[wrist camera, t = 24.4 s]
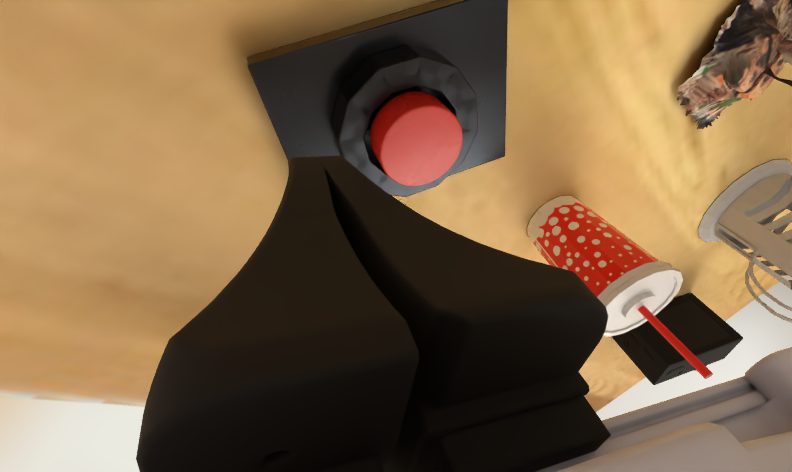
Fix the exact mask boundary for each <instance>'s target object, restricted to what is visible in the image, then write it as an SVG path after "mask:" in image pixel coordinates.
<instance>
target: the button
mask: <svg viewBox="0 0 792 472" xmlns="http://www.w3.org/2000/svg"><path fill="white" fill-rule="evenodd" d="M462 141H463V134H462V128H461V125H460V123H459V120H458V119H457V118H456V116H455V115H454V114H453V113H452V112H451V111H450V110H449V109H448V108H447V107H446V106H445V105H444V104H443V103H442V102H441V101H440V100H439V99H437V98H436V97H435V96H433V95H431V94H429V93H426V92H421V91H412V92H406V93H403V94H400V95H398V96H396V97H394V98H392V99H391V100H390V101H388V102H387V103H386V104H385V105H384V106H383V107H382V108H381V109H380V110H379V112H378V113H377V115H376V117H375V119H374V121H373V124H372V127H371V132H370V142H371V147H372V150H373V152H374V154H375V156H376V157H377V159H378V161H379V163H380V164H381V166H382V168H383V170H384V171H385V173H386V174H387V175H388V176H389V177H390V178H391V179H392V180H393V181H395V182H397V183H399V184H402V185H407V186H419V185H424V184H428V183H430V182H433V181H434V180H436V179H438V178H440V177H441V176H442V175H444V174H445V173H446V172H447V171H448V170H449V169H450V168H451V167H452V165H453V164H454V163H455V161H456V159H457V158H458V156H459V153H460V151H461V147H462Z"/></svg>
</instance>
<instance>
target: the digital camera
mask: <svg viewBox="0 0 792 472" xmlns="http://www.w3.org/2000/svg"><path fill="white" fill-rule="evenodd" d="M655 317H656V318H657V319H658V320H659V321H660V322H661V323H662V324H663V325H664V326H665V327H666V328H667V329H668V330H669V331H670V332H671V333H672V334H673V335H674V336H675V337H676V338H677V339H678V340H680V341H681V342H682V343H683V344H684V345H685V346H686V347H687V348H688V349H689V350H690V351H691V352H692V353H693V354H694V355H695V356H696V357H697V358H698V359H699V360H700V361H701V362H702V363H703V364H704V365H705V366H706V365H708V364H711V363H713V362H716V361H719V360H721V359H723V358H725V357H726V356H727V355H728V354H729V353H730V352H731V350H732V349H733V348H734V347H735V346H736V345H737V344H738V343H739V342H740V341H741V340H742V339H743V337H742V336H741V335H740V334H739V333H737V332H736V331H735V330H734V329H733V328H732V327H730V326H729V325H728V324H727V323H726V322H725V321H724V320H722V319H721V318H720V317H719V316H718V315H717V314H715V313H714V312H713V311H712V310H711V309H710V308H708V307H707V306H706V305H705V304H704V303H703V302H701V301H700V300H699V299H698V298H697V297H696V296H695V295H693V294H692V293H690V294H687V295H684V296H681V297H678V298H675V299H672V300H671V301H670V303H669V304H668V305H667V306H665V307H664V308H663V309H662V310H661V311H660V312H659V313H657V314H656V315H655ZM611 337H612V338H613V339H614V340H615V341H616V342H617V344H618V345H619V346H620V347H621V348H622V349H623V351H624V352H625V353H626V354H627V355H628V356H629V358H630V359H631V360H632V361H633V362H634V363H635V365H636V366H637V367H638V368H639V369H640V370H641V371H642V373H643V374H644V375H645V376H646V377H647V378H648V380H649V381H650V382H651V383H652V384H653V385H656V384H658V383H661V382H664V381H666V380H669V379H672V378H674V377H677V376H679V375H682V374H685V373H687V372H690V371H692V370H696V369H695V368H694V367H693V366H692V365H691V364H690V363H689V362H688V361H687V360H686V359H685V358H684V357H683V356H682V355H681V354H680V353H679V352H678V351H677V350H676V349H675V348H674V347H673V346H672V345H671V344H670V343H669V342H668V341H667V340H666V339H665V338H664V336H663V335H662V334H661V333H660V332H659V331H658V330H657V329H656V328H655V327H654V326H653V325H652V324H651V323H650V322H649V321H646V322H645V323H643V324H642V325H640V326H638V327H636V328H634V329H632V330H630V331H627V332H625V333H623V334H619V335H615V336H611Z"/></svg>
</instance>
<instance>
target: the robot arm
mask: <svg viewBox="0 0 792 472" xmlns="http://www.w3.org/2000/svg"><path fill="white" fill-rule="evenodd" d="M288 166H289V176H288V181H287V185H286V188H285V192H284V195H283V198H282V201H281V203H280V206H279V208H278V210H277V212H276V215H275V217H274V219H273V221H272V223H271V225H270V227H269V229H268V231H267V232H266V234H265V236H264V237H263V239H262V241H261V242H260V244H259V245H258V247H257V248H256V250H255V251H254V253H253V254H252V255H251V257H250V258H249V260H248V261H247V262H246V264H245V265H244V266H243V268H242V269H241V270H240V271H239V272H238V274H237V275H236V276H235V277H234V278H233V279H232V280H231V281H230V283H229V284H228V285H227V286H226V287H225V288H224V289H223V290H222V291H221V292H220V293H219V295H218V296H217V297H216V298H215V299H214V300H213V301H212V302H211V303H210V304H209V305H208V306H207V307H206V308H205V309H204V310H202V311H201V312H200V313H199V314H198V315H197V316H196V317H195V318H193V319H192V320H191V321H190V322H189V323H188V324H187V325H186V326H184V327H183V328H182V329H181V330H180V331H179V332H178V333H176V334H175V335H174V336H173V337H171V338H170V339H169V341H168V344H167V346H166V348H165V351H164V353H163V355H162V358H161V360H160V363H159V365H158V368H157V371H156V373H155V376H154V379H153V382H152V385H151V388H150V392H149V395H148V398H147V401H146V405H145V410H144V414H143V420H142V426H141V432H140V439H139V445H138V451H137V457H136V460H137V463H138V466H139V470H140V472H792V347H791V348H788V349H784V350H781V351H777V352H775V353H772V354H770V355H768V356H766V357H765V358H763V359H761V360H760V361H759V362H757V363H756V364H755V365H754V366H752V367H751V368H750V369H749V370H748V371H747V372H746V373H745V376H744V377H740V378H737V379H734V380H731V381H728V382H725V383H721V384H718V385H715V386H712V387H708V388H705V389H702V390H699V391H696V392H692V393H689V394H686V395H683V396H680V397H677V398H673V399H670V400H667V401H664V402H660V403H657V404H654V405H651V406H648V407H644V408H641V409H638V410H635V411H632V412H628V413H625V414H622V415H619V416H616V417H613V418H609V419H606V420H603V421H601V420H600V418H599V417H598V415H597V414H596V413H595V411H594V410H593V408H592V407H591V405H590V404H589V403H588V401H587V400H586V398H585V397H584V396H583V395H586V394H587V393H588V392H589V386H588V384H587V383H586V381H585V380H584V379H583V377H582V376H581V375H580V373H579V372H578V371H579V370H580V368H581V367H582V366H583V364H584V363H585V361H586V360H587V359H588V357H589V356H590V354H591V353H592V352H593V350H594V349H595V347H596V346H597V345H598V343H599V342H600V340H601V338H602V336H603V334H604V333H605V330H606V326H607V321H608V313H607V309H606V307H605V305H604V304H603V303H602V302H601V301H600V300H599V299H598V298H597V297H596V295H595V294H594V293H593V292H592V291H591V290H590V289H589V288H588V287H587V286H586V284H585V283H584V282H583V281H582V280H581V279H580V278H579V277H578V276H577V274H576V273H575V272H573V271H570V270H566V269H562V268H558V267H554V266H551V265H547V264H543V263H539V262H535V261H531V260H527V259H524V258H521V257H518V256H515V255H512V254H509V253H506V252H503V251H500V250H497V249H494V248H491V247H488V246H486V245H483V244H480V243H478V242H475V241H473V240H471V239H468V238H466V237H464V236H462V235H459V234H457V233H455V232H452V231H450V230H448V229H446V228H444V227H442V226H440V225H438V224H437V223H435V222H433V221H431V220H429V219H427V218H426V217H424V216H422V215H420V214H418V213H417V212H415V211H414V210H412V209H410V208H409V207H407V206H406V205H404V204H403V203H401V202H400V201H398V200H397V199H395V198H394V197H393V196H391V195H390V194H388V193H387V192H386V191H384V190H383V189H382V188H380V187H379V186H378V185H376V184H375V183H374V182H373V181H371V180H370V179H369V178H368V177H366V176H365V175H364V174H363V173H362V172H360V171H359V170H358V169H357V168H356V167H354V166H353V165H352V164H351V163H350V162H348V161H347V160H346V159H345V158H343V157H342V156H317V157H293V158H292V159H291V160H290V161H289V162H288Z"/></svg>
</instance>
